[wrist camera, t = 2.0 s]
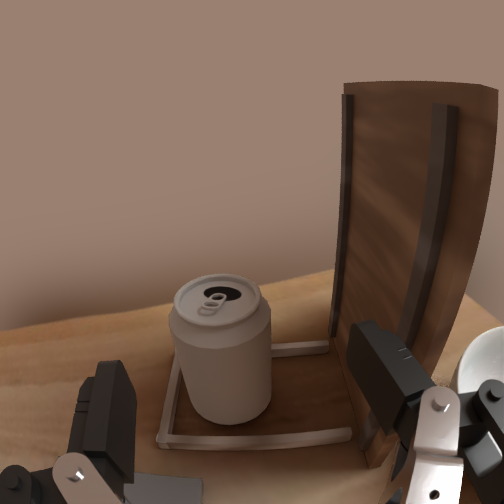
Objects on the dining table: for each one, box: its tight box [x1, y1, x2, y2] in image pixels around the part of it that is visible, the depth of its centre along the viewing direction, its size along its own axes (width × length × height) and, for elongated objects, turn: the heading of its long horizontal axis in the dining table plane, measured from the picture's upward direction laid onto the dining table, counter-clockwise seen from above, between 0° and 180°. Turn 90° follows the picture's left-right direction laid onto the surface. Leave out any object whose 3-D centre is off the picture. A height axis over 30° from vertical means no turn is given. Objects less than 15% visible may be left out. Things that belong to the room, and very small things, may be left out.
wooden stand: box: [156, 81, 498, 469], centre depth 22 cm, size 18×18×26 cm
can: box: [169, 274, 272, 425], centre depth 25 cm, size 8×8×12 cm
